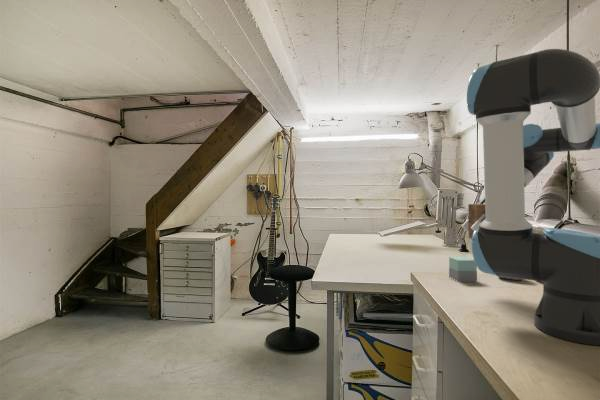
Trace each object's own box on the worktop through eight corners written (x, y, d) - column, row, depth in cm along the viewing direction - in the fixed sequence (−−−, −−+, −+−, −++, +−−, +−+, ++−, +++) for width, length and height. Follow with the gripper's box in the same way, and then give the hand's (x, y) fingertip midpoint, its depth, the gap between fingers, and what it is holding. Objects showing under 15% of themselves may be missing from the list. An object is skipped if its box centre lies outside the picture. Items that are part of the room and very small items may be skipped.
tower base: (476, 282, 121) (476, 271, 121) (458, 282, 121) (458, 271, 121) (466, 277, 128) (466, 267, 128) (449, 277, 128) (449, 267, 128)
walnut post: (491, 239, 111) (491, 204, 111) (477, 239, 111) (476, 204, 110) (482, 237, 116) (481, 204, 116) (468, 238, 116) (468, 204, 115)
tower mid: (476, 271, 121) (476, 260, 121) (457, 271, 121) (457, 260, 121) (467, 267, 128) (467, 257, 128) (449, 267, 128) (449, 257, 128)
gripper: (542, 188, 105) (493, 240, 104) (504, 189, 123) (462, 234, 122) (526, 172, 104) (477, 224, 104) (490, 175, 122) (448, 220, 122)
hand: (469, 229), depth 113 cm, fingers closed on walnut post, 5 cm apart
